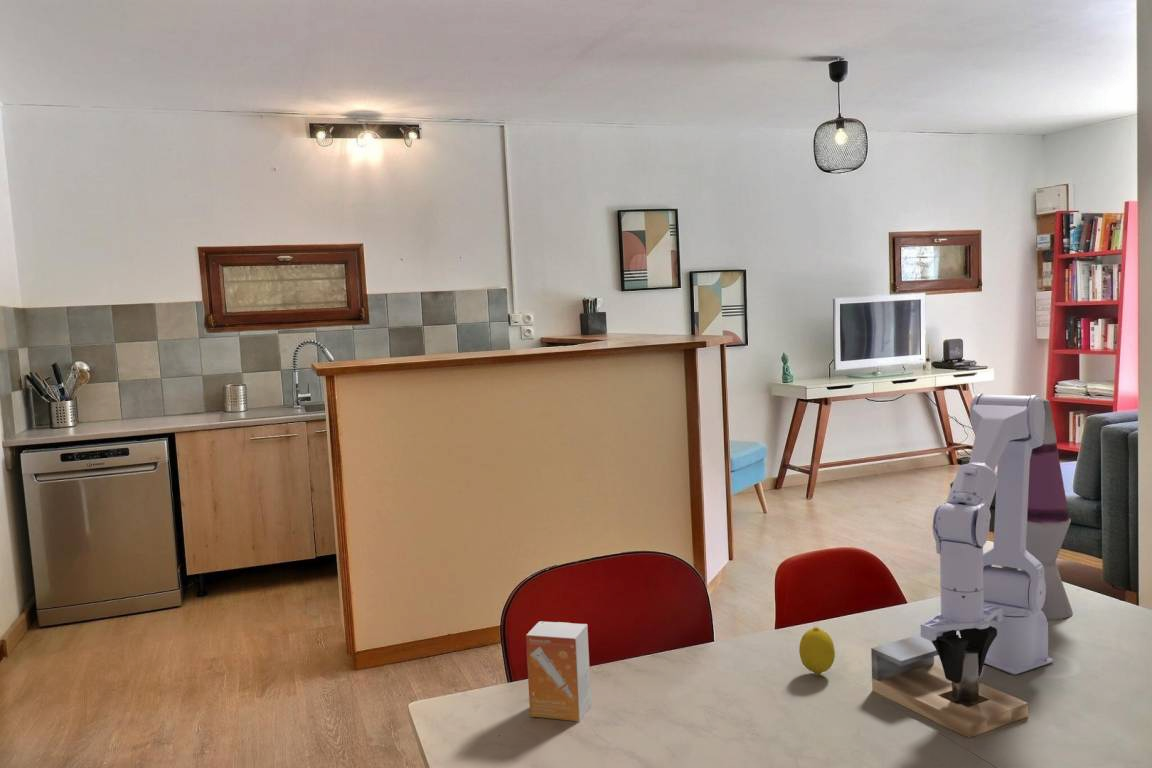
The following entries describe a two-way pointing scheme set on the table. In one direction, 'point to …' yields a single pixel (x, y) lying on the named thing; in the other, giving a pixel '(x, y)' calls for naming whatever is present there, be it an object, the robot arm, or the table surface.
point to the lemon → (817, 650)
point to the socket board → (937, 689)
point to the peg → (968, 678)
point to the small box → (558, 670)
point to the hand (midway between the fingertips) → (963, 677)
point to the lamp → (1048, 517)
